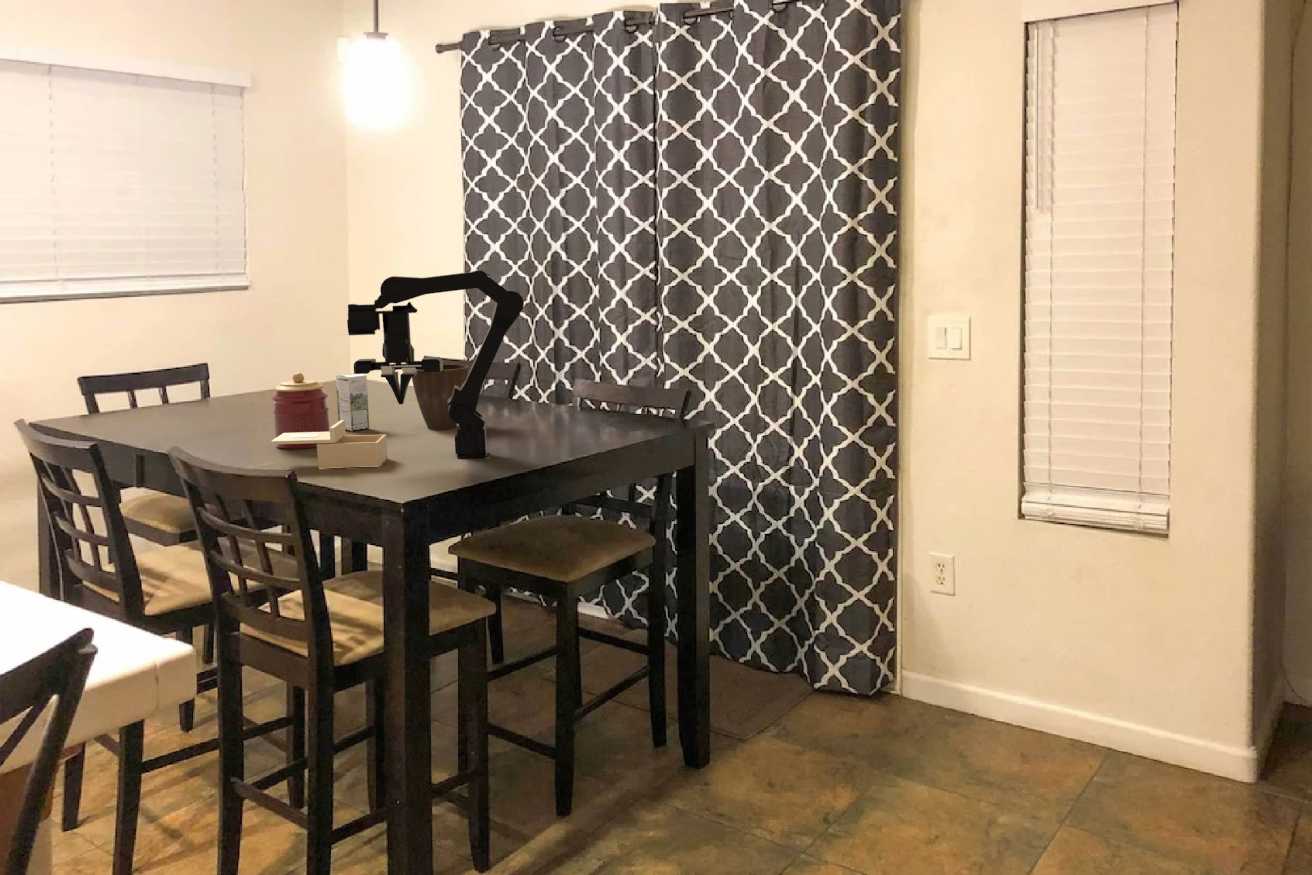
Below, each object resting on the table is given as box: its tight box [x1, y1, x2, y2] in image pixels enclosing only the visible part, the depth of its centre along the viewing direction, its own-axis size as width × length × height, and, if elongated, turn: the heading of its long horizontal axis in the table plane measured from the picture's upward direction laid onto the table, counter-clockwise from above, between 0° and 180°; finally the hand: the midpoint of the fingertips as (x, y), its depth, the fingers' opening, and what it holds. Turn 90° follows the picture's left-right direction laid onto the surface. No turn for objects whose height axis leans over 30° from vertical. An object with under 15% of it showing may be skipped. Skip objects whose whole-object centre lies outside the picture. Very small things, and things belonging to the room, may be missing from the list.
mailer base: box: [316, 434, 388, 469], centre depth 242 cm, size 13×10×6 cm
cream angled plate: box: [269, 420, 347, 446], centre depth 241 cm, size 14×11×3 cm
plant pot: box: [411, 363, 469, 430], centre depth 288 cm, size 15×15×16 cm
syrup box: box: [335, 373, 370, 432], centre depth 287 cm, size 6×6×14 cm
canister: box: [271, 372, 330, 450], centre depth 266 cm, size 13×13×18 cm
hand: (401, 404), depth 244 cm, fingers closed
